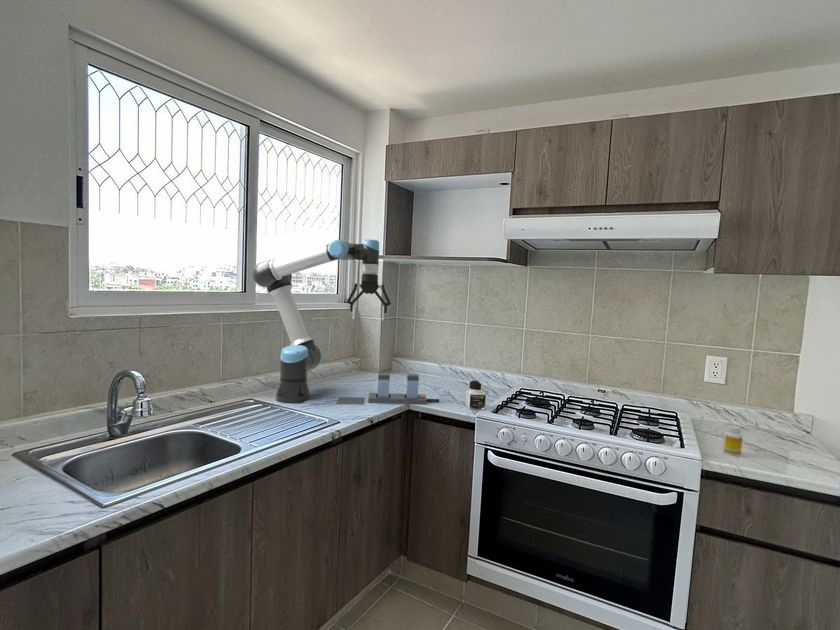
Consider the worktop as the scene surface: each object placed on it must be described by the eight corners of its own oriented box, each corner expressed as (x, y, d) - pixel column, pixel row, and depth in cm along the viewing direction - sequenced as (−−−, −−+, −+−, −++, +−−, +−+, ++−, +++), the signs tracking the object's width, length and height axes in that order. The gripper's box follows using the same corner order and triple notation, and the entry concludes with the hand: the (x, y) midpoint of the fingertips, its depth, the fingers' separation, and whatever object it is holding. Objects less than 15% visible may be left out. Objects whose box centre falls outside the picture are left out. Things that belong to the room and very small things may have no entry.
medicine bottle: (469, 409, 198) (471, 383, 197) (465, 405, 205) (466, 379, 204) (485, 409, 199) (486, 383, 198) (480, 405, 206) (481, 379, 205)
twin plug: (406, 402, 201) (407, 376, 200) (405, 399, 206) (407, 373, 205) (417, 402, 201) (418, 376, 200) (416, 399, 206) (418, 374, 205)
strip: (368, 405, 197) (368, 397, 197) (369, 399, 207) (369, 391, 207) (440, 407, 200) (440, 399, 199) (437, 401, 209) (438, 393, 209)
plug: (377, 401, 200) (378, 375, 199) (377, 398, 205) (378, 372, 204) (388, 401, 200) (389, 375, 199) (388, 399, 205) (389, 373, 204)
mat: (335, 404, 195) (335, 403, 195) (338, 397, 207) (338, 396, 207) (363, 405, 196) (363, 404, 196) (364, 398, 208) (364, 397, 208)
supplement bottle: (719, 449, 161) (721, 423, 160) (735, 451, 160) (738, 425, 159) (727, 455, 156) (729, 428, 155) (744, 457, 155) (746, 430, 154)
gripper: (341, 272, 201) (340, 319, 203) (397, 274, 203) (395, 321, 205) (343, 272, 209) (341, 317, 210) (396, 275, 211) (394, 319, 212)
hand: (368, 319), depth 208 cm, fingers open, 13 cm apart
